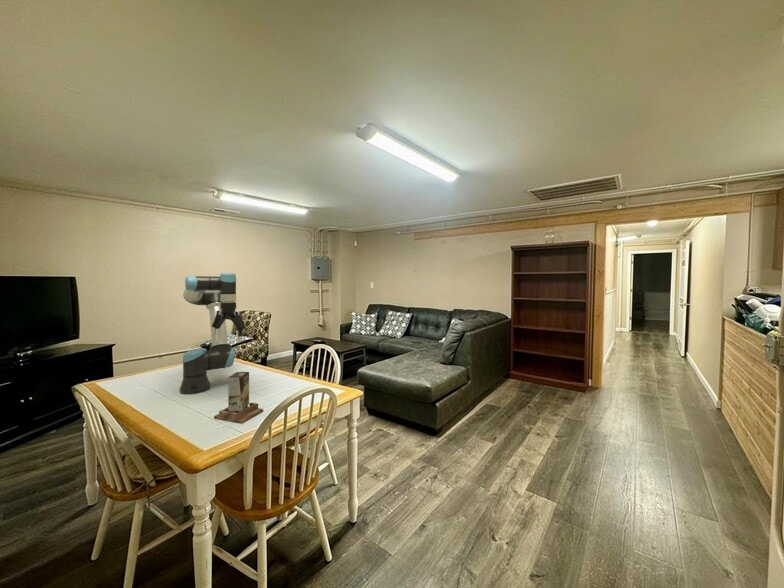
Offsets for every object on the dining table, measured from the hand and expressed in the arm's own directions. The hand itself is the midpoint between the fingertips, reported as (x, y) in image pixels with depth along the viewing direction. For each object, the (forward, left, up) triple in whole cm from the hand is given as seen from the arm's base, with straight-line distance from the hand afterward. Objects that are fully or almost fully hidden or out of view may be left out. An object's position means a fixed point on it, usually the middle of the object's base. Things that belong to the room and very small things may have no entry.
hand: (228, 341), depth 168 cm
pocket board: (+20, -14, -32) cm, 40 cm away
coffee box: (+20, -14, -28) cm, 37 cm away
